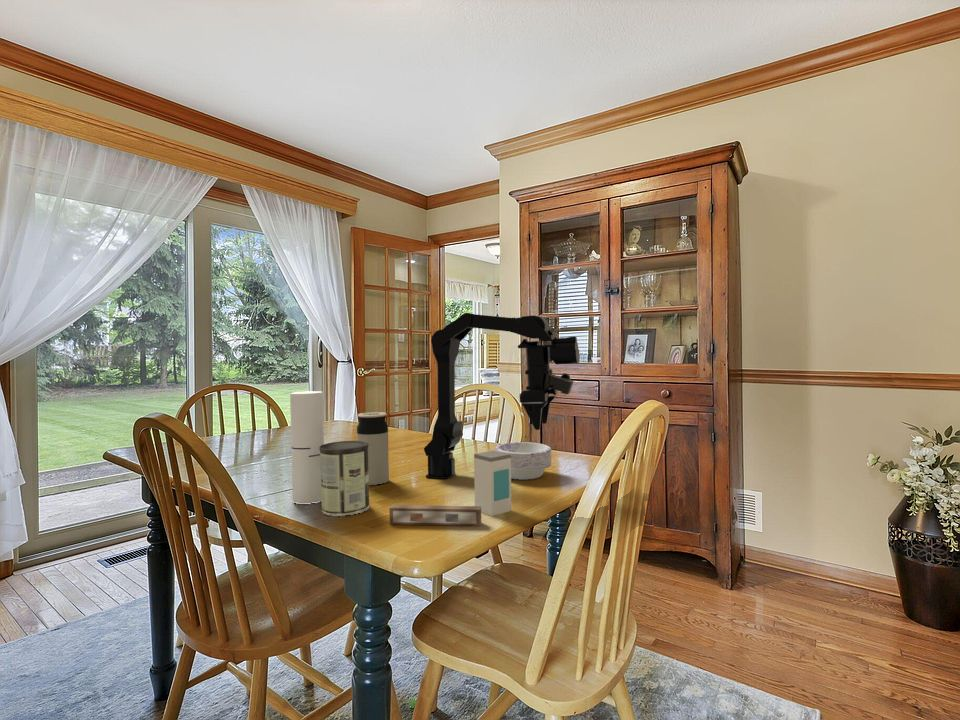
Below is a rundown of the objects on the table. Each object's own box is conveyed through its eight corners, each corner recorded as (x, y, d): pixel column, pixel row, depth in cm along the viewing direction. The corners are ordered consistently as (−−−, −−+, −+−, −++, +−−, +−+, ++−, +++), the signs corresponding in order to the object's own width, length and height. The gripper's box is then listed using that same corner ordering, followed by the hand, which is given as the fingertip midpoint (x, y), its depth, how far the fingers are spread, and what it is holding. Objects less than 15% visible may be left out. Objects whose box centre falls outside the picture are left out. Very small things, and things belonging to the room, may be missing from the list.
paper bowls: (546, 484, 126) (546, 453, 126) (488, 481, 130) (488, 451, 130) (555, 470, 140) (555, 442, 140) (503, 468, 145) (502, 440, 145)
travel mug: (363, 487, 126) (361, 416, 126) (354, 481, 133) (352, 413, 132) (393, 483, 130) (392, 414, 130) (383, 476, 137) (381, 411, 136)
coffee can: (342, 500, 116) (341, 439, 115) (379, 505, 111) (378, 442, 111) (310, 513, 106) (308, 447, 106) (349, 519, 102) (347, 450, 102)
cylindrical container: (294, 497, 119) (292, 391, 118) (326, 494, 120) (323, 390, 120) (290, 506, 112) (287, 394, 111) (323, 503, 113) (321, 393, 113)
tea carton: (475, 510, 107) (474, 454, 106) (494, 504, 110) (493, 450, 110) (492, 516, 102) (491, 458, 102) (512, 510, 106) (511, 454, 105)
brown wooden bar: (388, 525, 98) (388, 508, 98) (392, 520, 101) (392, 504, 101) (480, 527, 96) (479, 510, 96) (481, 522, 99) (481, 506, 99)
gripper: (564, 366, 116) (567, 433, 116) (574, 362, 133) (577, 420, 134) (517, 368, 119) (520, 433, 120) (533, 364, 137) (536, 420, 137)
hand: (541, 426), depth 127 cm, fingers open, 9 cm apart
